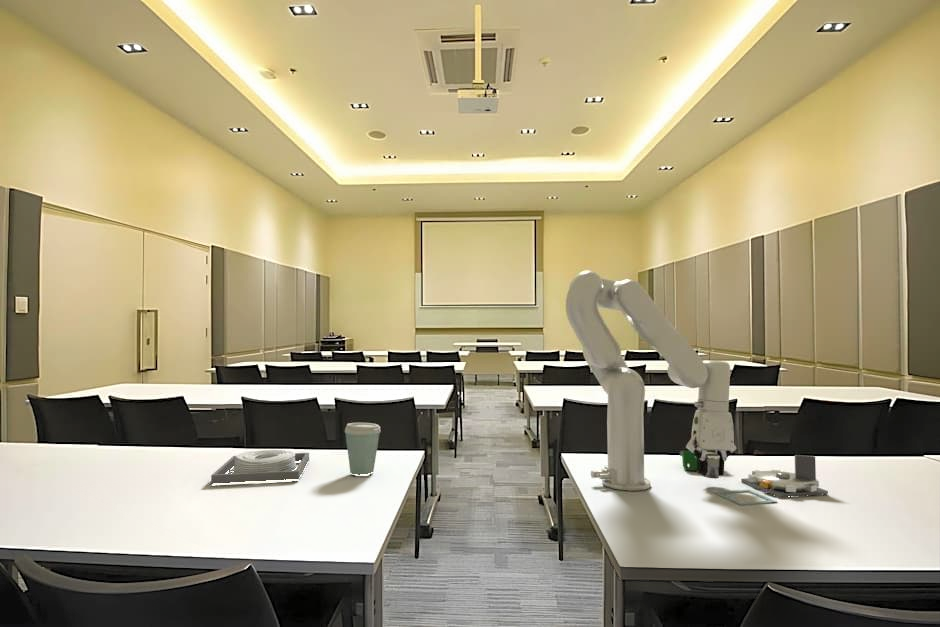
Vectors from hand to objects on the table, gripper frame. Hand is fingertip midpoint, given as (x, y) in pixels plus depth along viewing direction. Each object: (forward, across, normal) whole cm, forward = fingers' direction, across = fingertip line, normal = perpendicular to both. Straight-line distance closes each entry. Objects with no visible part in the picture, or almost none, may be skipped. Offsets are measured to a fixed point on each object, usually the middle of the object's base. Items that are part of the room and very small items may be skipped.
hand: (710, 473), depth 144 cm
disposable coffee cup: (+9, -92, +30) cm, 97 cm away
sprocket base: (+2, +18, -5) cm, 19 cm away
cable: (+12, -121, +37) cm, 127 cm away
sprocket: (+1, +18, -5) cm, 18 cm away
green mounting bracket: (+3, +8, +16) cm, 19 cm away
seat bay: (+3, +3, -10) cm, 11 cm away
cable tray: (+11, -121, +36) cm, 127 cm away
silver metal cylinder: (+1, 0, 0) cm, 1 cm away
